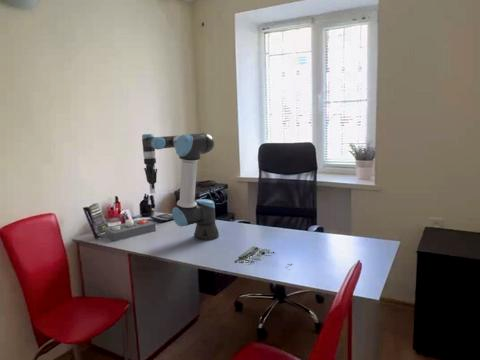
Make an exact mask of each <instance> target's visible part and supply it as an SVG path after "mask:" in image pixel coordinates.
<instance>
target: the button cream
mask: <svg viewBox="0 0 480 360" xmlns="http://www.w3.org/2000/svg"><path fill="white" fill-rule="evenodd" d="M133 221H134V219H132V218H131V219H126V220H124V223H125V225H126V227H127V228H128V227H132V226H134V223H133Z"/></svg>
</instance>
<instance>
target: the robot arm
mask: <svg viewBox="0 0 480 360" xmlns="http://www.w3.org/2000/svg"><path fill="white" fill-rule="evenodd" d="M141 142H142V152H143V164H144V165H145V167H144V168H143V170H144V173H145V177H146V182H147V183H148V184H149V193H150V194H151V195H153V194H156V191H155V190H156V188H155V184H156V183H157V174H158V168H156V165H155V164H156V163H157V157H156V150H163V149H170V148H171V149H173V148H175V154H177V156H178V158H179V160H181V164H180V165H181V167H180V168H181V169H180V170H181V171H180V183H179V184H180V186H179V199H178V200H177V201H176V206H175V207H173V208H172V210H171V214H172V215H171V216H172V219H173V221H174V222H175V224H176V225H177V226H178V227H187V226H190V225H194V224H196V225H195V229H194V233H193V238H194V239H195V240H197V241H212V240H217V238H219V237H220V236H219V235H220V234H219V233H220V232H219V230H218V227H217V224H216V206H215V201H213V200H211V199H205V198H204V199H203V198H202V199H196V186H197V171H198V167H197V166H198V162H199V161H200V160H201V155H204V154H208V153H210V152H212V151H213V149H214V148H215V140H214V137H213V136H212V135H211V134H209V133H205V132H201V133H186V134H181V135H169V136H168V135H167V136H155V135H154V134H153V133H144V134H142V135H141Z"/></svg>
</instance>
